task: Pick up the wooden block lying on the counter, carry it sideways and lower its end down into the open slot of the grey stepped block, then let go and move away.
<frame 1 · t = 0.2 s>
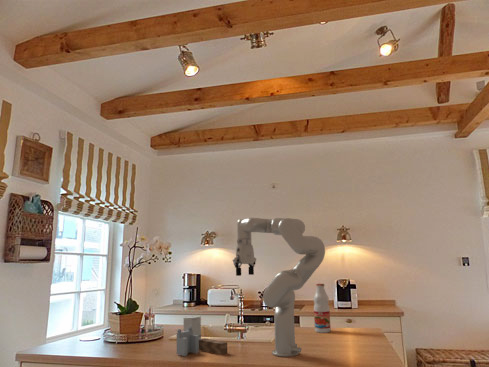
hand: (245, 275, 214), 36 cm above the worktop, tool pointing down, fingers open, 9 cm apart
fruit juice: (322, 331, 245), on the worktop
wooden block: (213, 351, 200), on the worktop
grey stepped block: (186, 353, 199), on the worktop
skincare box: (192, 346, 214), on the worktop
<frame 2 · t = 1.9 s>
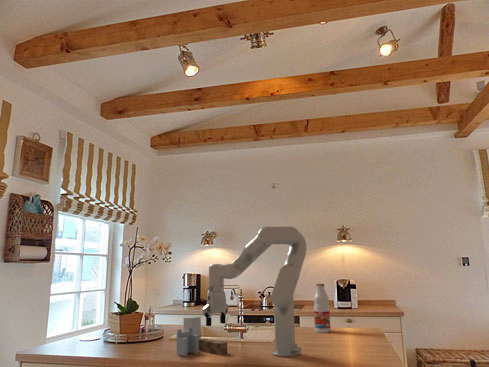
hand: (215, 324, 201), 13 cm above the worktop, tool pointing down, fingers open, 9 cm apart
nothing on the worktop moved.
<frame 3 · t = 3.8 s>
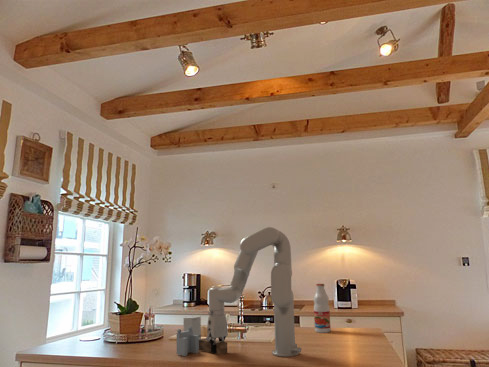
hand: (217, 351, 198), 1 cm above the worktop, tool pointing down, fingers closed on wooden block, 4 cm apart
wooden block: (213, 351, 200), on the worktop, touching gripper
everything else where it was.
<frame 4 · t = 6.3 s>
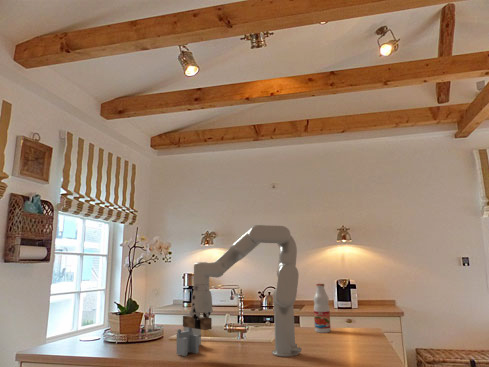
hand: (201, 327, 193), 13 cm above the worktop, tool pointing down, fingers closed on wooden block, 4 cm apart
wooden block: (197, 327, 195), point 13 cm above the worktop, touching gripper
everything else where it was.
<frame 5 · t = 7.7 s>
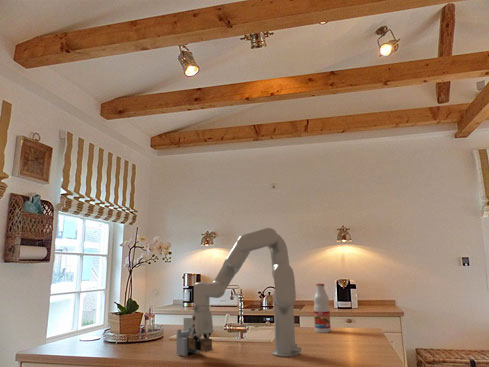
hand: (201, 348, 192), 4 cm above the worktop, tool pointing down, fingers closed on wooden block, 4 cm apart
wooden block: (197, 348, 194), point 3 cm above the worktop, touching gripper
everything else where it was.
when the fingers open (2 cm above the worktop, at t = 8.7 s): wooden block drops 1 cm, on the worktop.
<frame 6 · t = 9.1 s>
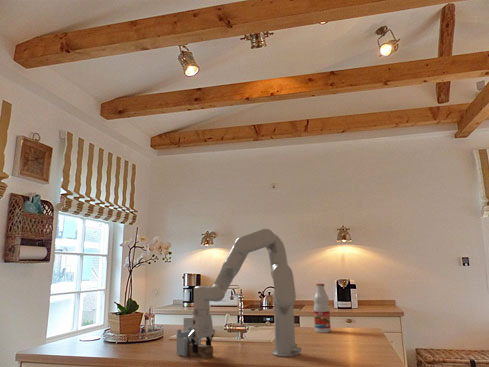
hand: (201, 350, 192), 3 cm above the worktop, tool pointing down, fingers open, 7 cm apart
wooden block: (198, 355, 193), on the worktop
everything else where it was.
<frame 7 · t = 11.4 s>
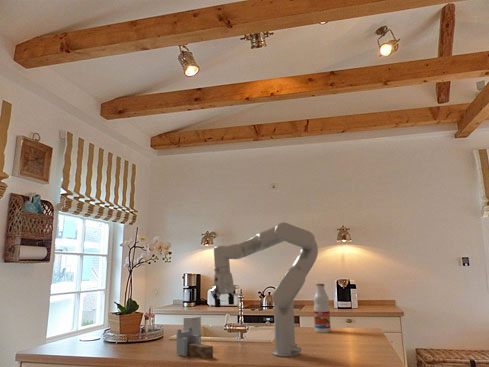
hand: (224, 305, 200), 22 cm above the worktop, tool pointing down, fingers open, 9 cm apart
nothing on the worktop moved.
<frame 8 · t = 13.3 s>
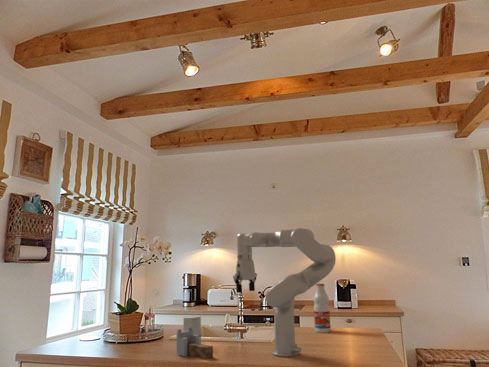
hand: (245, 291, 207), 28 cm above the worktop, tool pointing down, fingers open, 9 cm apart
nothing on the worktop moved.
at the end: wooden block 0.1 cm from the target spot on the worktop beside the grey stepped block, on the worktop; wooden block tilted 0°; the gripper is holding nothing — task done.
